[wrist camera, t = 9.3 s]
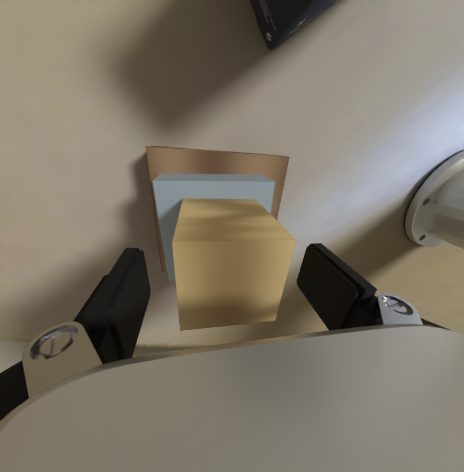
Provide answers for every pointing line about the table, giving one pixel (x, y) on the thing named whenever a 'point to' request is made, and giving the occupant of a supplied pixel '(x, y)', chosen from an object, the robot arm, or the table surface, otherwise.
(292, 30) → the small box
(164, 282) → the table surface
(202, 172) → the tower base
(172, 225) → the tower top
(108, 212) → the table surface
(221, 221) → the block
